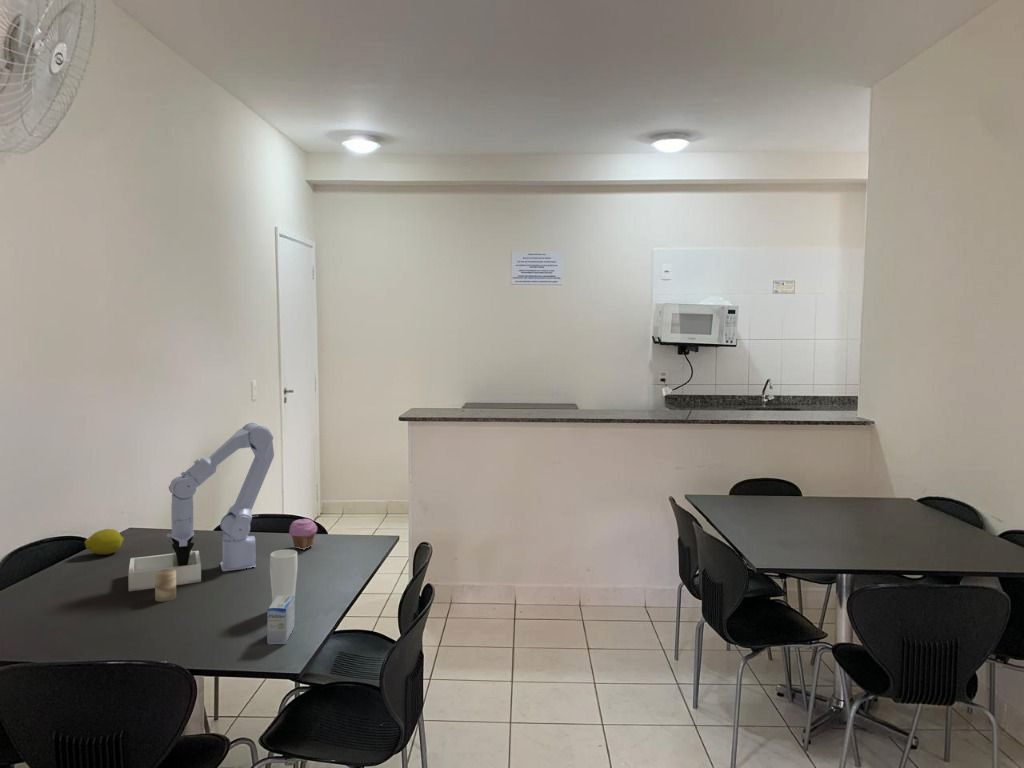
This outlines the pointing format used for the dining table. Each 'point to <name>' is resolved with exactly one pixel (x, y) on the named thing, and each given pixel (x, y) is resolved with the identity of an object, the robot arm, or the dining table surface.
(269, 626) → the medicine box
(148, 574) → the box
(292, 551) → the drinking glass
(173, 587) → the wooden cylinder
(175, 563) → the sage cube
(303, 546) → the cupcake
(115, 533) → the lemon
